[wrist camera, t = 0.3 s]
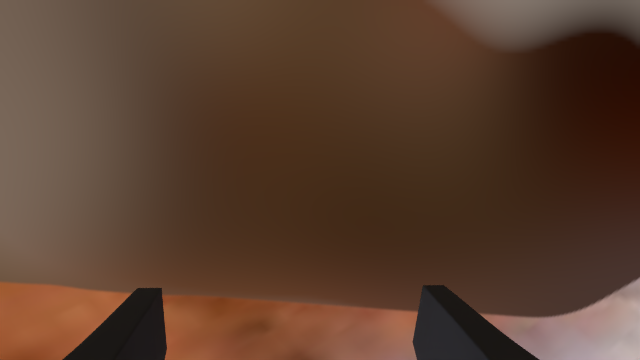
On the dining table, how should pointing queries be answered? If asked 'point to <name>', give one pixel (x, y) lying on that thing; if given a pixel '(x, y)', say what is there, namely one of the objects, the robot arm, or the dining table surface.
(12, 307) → the dining table surface
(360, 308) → the dining table surface
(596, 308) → the dining table surface
